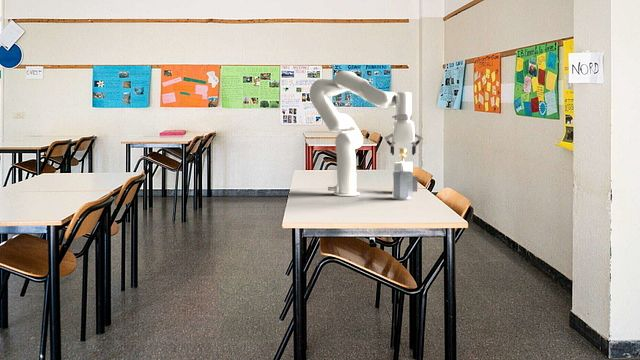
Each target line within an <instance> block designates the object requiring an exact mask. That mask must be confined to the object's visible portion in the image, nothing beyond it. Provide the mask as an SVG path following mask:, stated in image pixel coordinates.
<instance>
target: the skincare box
mask: <svg viewBox="0 0 640 360" xmlns="http://www.w3.org/2000/svg"><path fill="white" fill-rule="evenodd" d="M398 170H401V161H399V162H398V161H397V162H394V163H393V171H398ZM404 170H405V171H406V170H410V171H412V172H413V161H404Z"/></svg>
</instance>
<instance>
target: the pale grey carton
mask: <svg viewBox="0 0 640 360" xmlns="http://www.w3.org/2000/svg"><path fill="white" fill-rule="evenodd" d="M413 175H414V174H413V170H412V171H410V170H406V171H405V170H404V172H401V170H398V171H394V170H393V172H392V200H395V201H411V200H413V193H415V192H418V179H419V178H418V176H413Z"/></svg>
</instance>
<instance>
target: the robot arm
mask: <svg viewBox="0 0 640 360" xmlns="http://www.w3.org/2000/svg"><path fill="white" fill-rule="evenodd" d="M345 92H349V93H351V94H354V95H356V96H358V97H359V98H361V99H363V100H364V101H365V102H368V103H370V104H372V105H374V106H376V107H379V108H384V109H385V108H388V109H392V108H394V109H395V111H394V112H395V113H394V115H393V116H392V115H391V116H392V118H391V119H392V120H395V121H393V124H392V125H393V126H392V133H390V134H389V135H386V136H384V140H385V142H386V143H387V144H388V146H389V147H390V151H389V153H390V154H391V156H394V155H395V146H394V145H395V144H396V143H399V144H405V143H406V144H408V143H409V144H412V146H411V155H412V156H415V154H416V153H417V151H416V149H417V146H418V145H419V144H420V142H421V140H422V139H423V137H422V136H420V135H418V134H417V133H415V123H414V121H412V108H413V107H412V106H413V105H412V101H413V99H412V97H413V96H412V93H411V92H410V91H397V92H394V91H386V90H385V91H384V90H381V89H380V88H377V87H375V86H373V85H371V84H370V82H369V81H368V80H367V79H366V78H363V77H360V76H358V75H357V74H356V73H355V72H354V71H351V70H339V71H338V72H337V73H335V75H334V78H332V79H326V78H325V79H324V78H320V79H317V80H314V82H313V83H312V84H311V85H310V89H309V98H310V102H311V103H312V105H313V107H314V108H315V110H316V111H317V113H318V115H319V117H320V118H321V120H322V121H323V122H324V123H325V125H326V126H325V127H327V129H328V130H329V131H330V132H332V133H338V134H337V135H336V137H335V140H334V141H335V142H334V143H335V145H334V146H335V151H336V185H334V186H327V191H332V192H333V195H335V196H340V197H354V196H359V195H360V192H359V191H358V190H357V155H356V150H358V149H360V148H361V147H362V146H363V144H364V136H363V134H362V132H361V131H360V129H359V128H358V126H357V124H356V123H355V121H354V120H353V118H352V117H351V116H350V115H348V114H347V113H346V112H345V113H344V112H339V111H338V109H336V106H335V105H334V104H333V102H332V101H331V100H330V99H329V98H328V97H335V96H338V95H340V94H342V93H345ZM390 138H392V141H390V140H389V139H390ZM415 138H416V139H417V141H415Z"/></svg>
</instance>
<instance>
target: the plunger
mask: <svg viewBox="0 0 640 360" xmlns="http://www.w3.org/2000/svg"><path fill="white" fill-rule="evenodd" d="M407 153H408V149H407V148H406V147H400V148H398V157H399V158H400V159H401V160H400V162H401V172H404V162H405V158H408V155H407Z"/></svg>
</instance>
